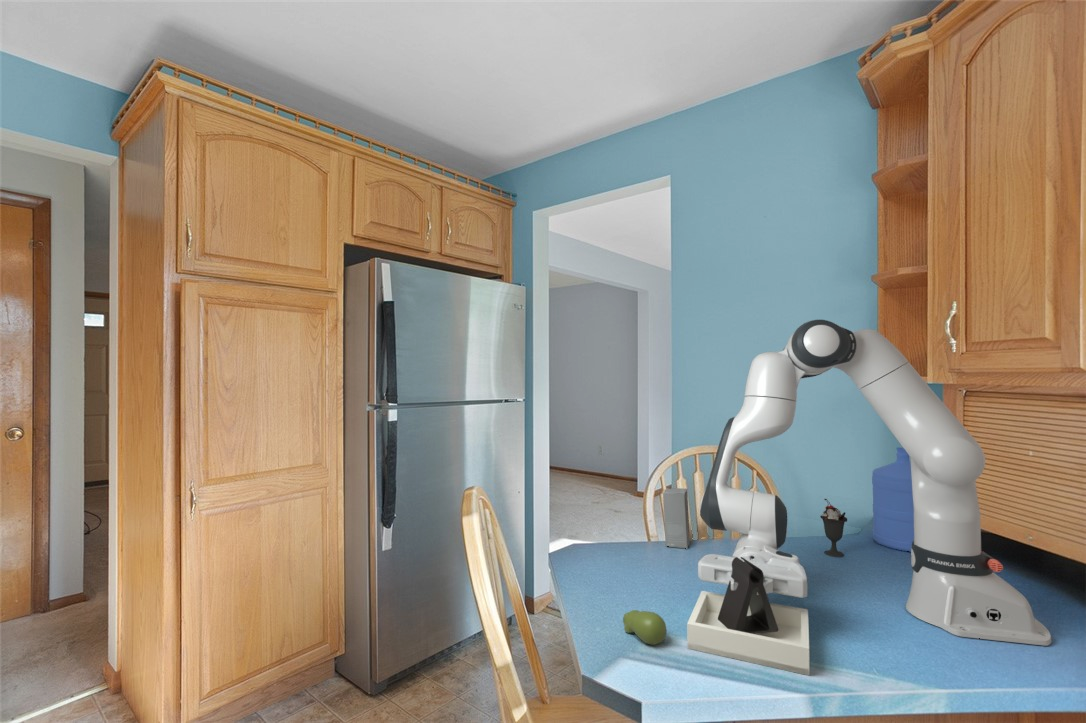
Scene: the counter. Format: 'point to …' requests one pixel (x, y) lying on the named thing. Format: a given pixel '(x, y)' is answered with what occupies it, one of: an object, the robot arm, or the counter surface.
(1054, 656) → the counter surface
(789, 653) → the tray
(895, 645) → the counter surface
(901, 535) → the water jug
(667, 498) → the skincare box
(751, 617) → the phone stand
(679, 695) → the counter surface
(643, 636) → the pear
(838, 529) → the sundae
